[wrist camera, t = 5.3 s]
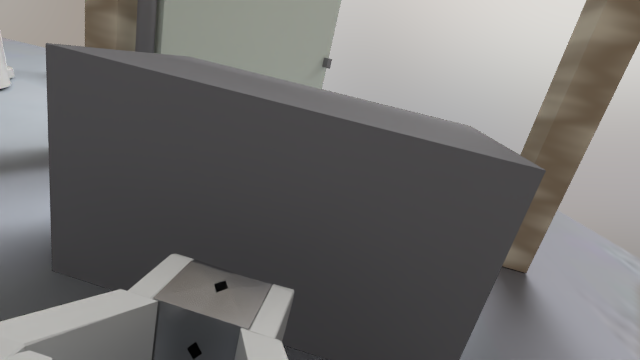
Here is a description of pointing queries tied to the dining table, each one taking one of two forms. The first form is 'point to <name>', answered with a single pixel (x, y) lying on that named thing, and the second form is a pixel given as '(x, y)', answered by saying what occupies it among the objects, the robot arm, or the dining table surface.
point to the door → (244, 34)
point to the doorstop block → (281, 197)
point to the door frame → (554, 115)
